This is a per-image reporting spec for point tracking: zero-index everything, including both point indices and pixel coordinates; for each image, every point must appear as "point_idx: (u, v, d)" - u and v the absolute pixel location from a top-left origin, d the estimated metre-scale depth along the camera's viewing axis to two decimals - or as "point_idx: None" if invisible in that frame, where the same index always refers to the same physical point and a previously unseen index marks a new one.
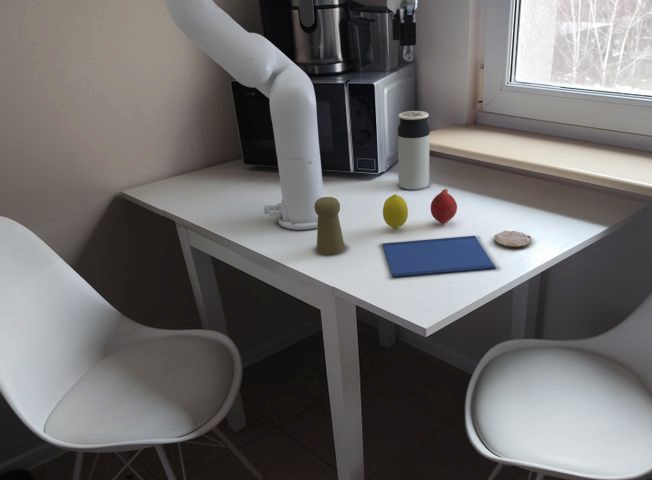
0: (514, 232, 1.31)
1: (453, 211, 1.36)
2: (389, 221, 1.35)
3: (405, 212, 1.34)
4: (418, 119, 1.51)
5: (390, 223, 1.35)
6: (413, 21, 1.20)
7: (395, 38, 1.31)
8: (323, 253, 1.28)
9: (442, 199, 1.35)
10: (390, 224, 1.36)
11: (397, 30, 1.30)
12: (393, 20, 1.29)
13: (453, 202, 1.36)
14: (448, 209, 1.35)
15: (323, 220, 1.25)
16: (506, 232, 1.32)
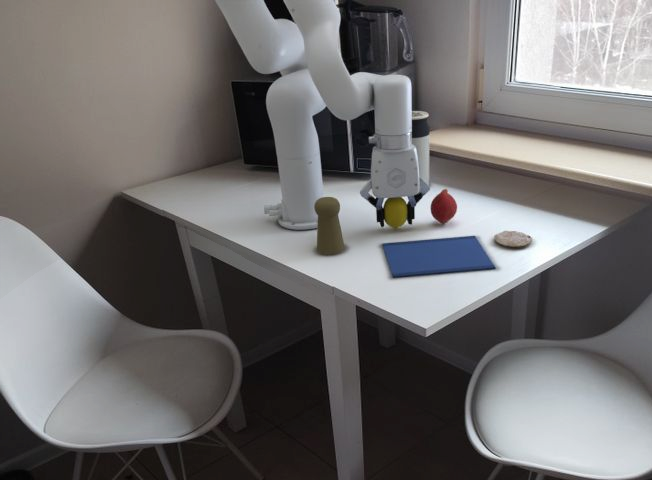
0: (514, 232, 1.31)
1: (453, 211, 1.36)
2: (389, 221, 1.35)
3: (405, 212, 1.34)
4: (418, 119, 1.51)
5: (390, 223, 1.35)
6: None
7: None
8: (323, 253, 1.28)
9: (442, 199, 1.35)
10: (390, 224, 1.36)
11: None
12: (382, 210, 1.34)
13: (453, 202, 1.36)
14: (448, 209, 1.35)
15: (323, 220, 1.25)
16: (506, 232, 1.32)
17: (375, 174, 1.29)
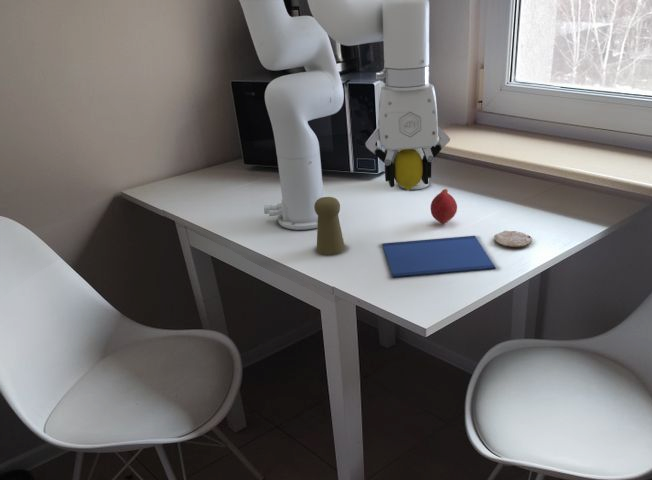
0: (514, 232, 1.31)
1: (453, 211, 1.36)
2: (400, 179, 1.11)
3: (420, 168, 1.11)
4: None
5: (402, 181, 1.12)
6: None
7: None
8: (323, 253, 1.28)
9: (442, 199, 1.35)
10: (402, 183, 1.12)
11: (393, 175, 1.12)
12: (393, 166, 1.11)
13: (453, 202, 1.36)
14: (448, 209, 1.35)
15: (323, 220, 1.25)
16: (506, 232, 1.32)
17: (384, 119, 1.05)
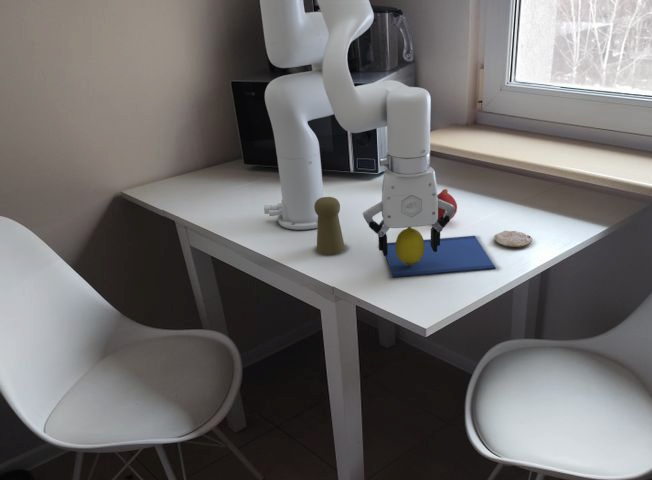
0: (514, 232, 1.31)
1: None
2: (402, 257, 1.18)
3: (421, 247, 1.18)
4: None
5: (404, 259, 1.18)
6: None
7: None
8: (323, 253, 1.28)
9: (442, 199, 1.35)
10: (404, 261, 1.19)
11: None
12: (386, 237, 1.16)
13: (453, 202, 1.36)
14: None
15: (323, 220, 1.25)
16: (506, 232, 1.32)
17: (387, 201, 1.11)
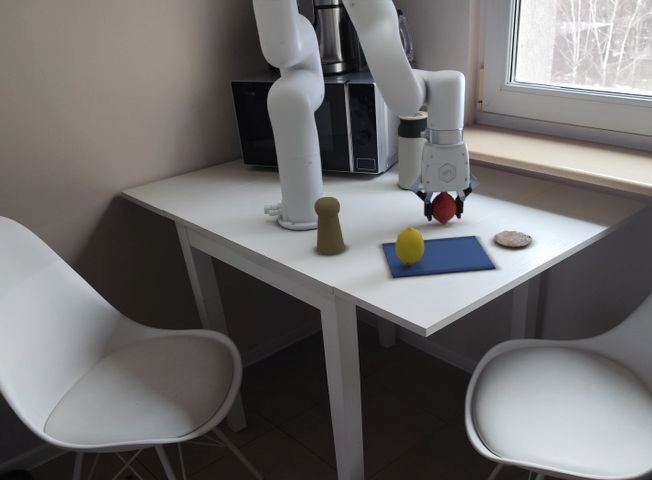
0: (514, 232, 1.31)
1: (453, 211, 1.36)
2: (402, 257, 1.18)
3: (421, 247, 1.18)
4: (418, 119, 1.51)
5: (404, 259, 1.18)
6: None
7: None
8: (323, 253, 1.28)
9: (442, 199, 1.35)
10: (404, 261, 1.19)
11: None
12: (431, 204, 1.36)
13: (453, 202, 1.36)
14: (448, 209, 1.35)
15: (323, 220, 1.25)
16: (506, 232, 1.32)
17: (426, 169, 1.30)
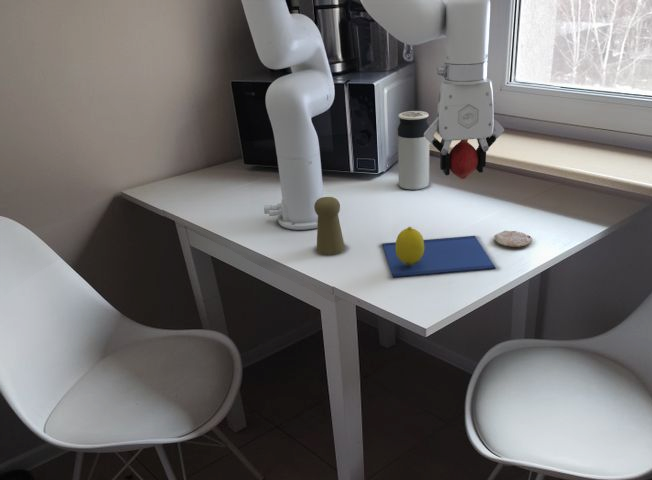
0: (514, 232, 1.31)
1: (474, 164, 1.19)
2: (402, 257, 1.18)
3: (421, 247, 1.18)
4: (418, 119, 1.51)
5: (404, 259, 1.18)
6: None
7: None
8: (323, 253, 1.28)
9: (461, 149, 1.17)
10: (404, 261, 1.19)
11: None
12: (449, 155, 1.18)
13: (474, 152, 1.18)
14: (468, 161, 1.18)
15: (323, 220, 1.25)
16: (506, 232, 1.32)
17: (444, 111, 1.13)
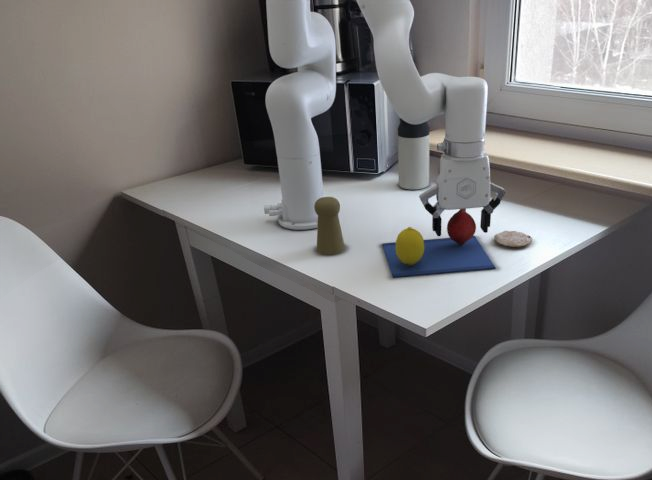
0: (514, 232, 1.31)
1: (472, 232, 1.25)
2: (402, 257, 1.18)
3: (421, 247, 1.18)
4: None
5: (404, 259, 1.18)
6: None
7: None
8: (323, 253, 1.28)
9: (460, 219, 1.24)
10: (404, 261, 1.19)
11: None
12: (440, 219, 1.24)
13: (472, 222, 1.25)
14: (466, 230, 1.24)
15: (323, 220, 1.25)
16: (506, 232, 1.32)
17: (444, 184, 1.19)
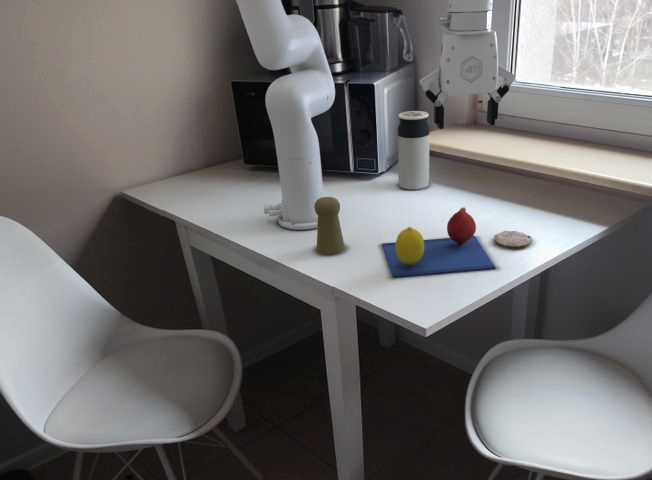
0: (514, 232, 1.31)
1: (472, 232, 1.25)
2: (402, 257, 1.18)
3: (421, 247, 1.18)
4: (418, 119, 1.51)
5: (404, 259, 1.18)
6: None
7: None
8: (323, 253, 1.28)
9: (460, 219, 1.24)
10: (404, 261, 1.19)
11: None
12: (443, 107, 1.12)
13: (472, 222, 1.25)
14: (466, 230, 1.24)
15: (323, 220, 1.25)
16: (506, 232, 1.32)
17: (446, 64, 1.08)
